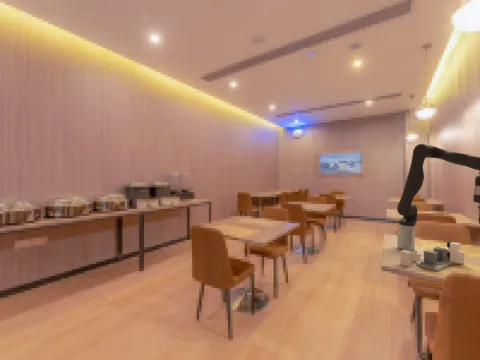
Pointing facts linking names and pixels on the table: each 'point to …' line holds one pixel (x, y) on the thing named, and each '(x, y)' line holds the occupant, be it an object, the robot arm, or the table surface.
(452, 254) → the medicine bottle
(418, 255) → the block
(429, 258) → the board
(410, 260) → the block
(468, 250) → the table surface
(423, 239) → the table surface
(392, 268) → the table surface
